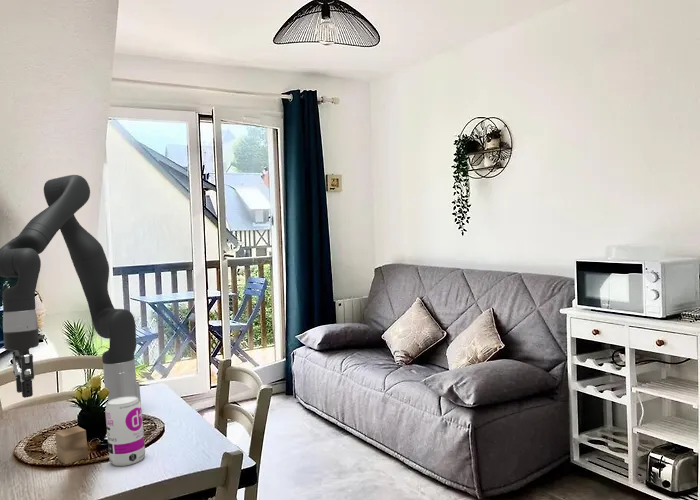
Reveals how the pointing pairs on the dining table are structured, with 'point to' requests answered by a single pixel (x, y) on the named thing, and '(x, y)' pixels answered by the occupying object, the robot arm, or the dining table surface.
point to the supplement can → (125, 430)
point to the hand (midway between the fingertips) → (24, 394)
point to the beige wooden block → (71, 444)
